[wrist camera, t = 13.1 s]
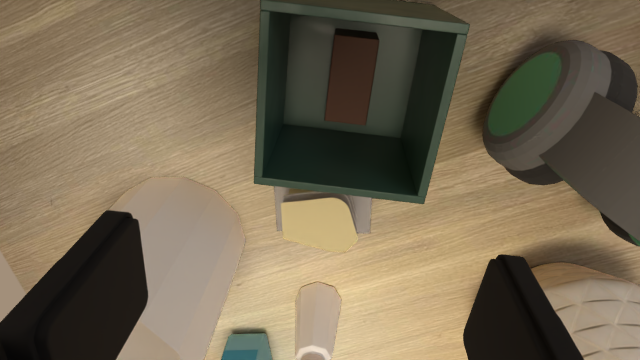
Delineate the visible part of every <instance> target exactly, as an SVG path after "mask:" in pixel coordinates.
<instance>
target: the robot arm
mask: <svg viewBox="0 0 640 360" xmlns="http://www.w3.org/2000/svg"><path fill="white" fill-rule="evenodd" d="M147 301H148V288H147V280H146V273H145V265H144V257H143V250H142V242H141V234H140V227H139V221H138V220H137V219H134V218H133V216H132V214H131V213H129V212H121V211H112V210H107V211H105V212H104V213H103V214H102V215H101V216H100V217H99V218H98V219H97V221H96V222H95V223H94V224H93V225H92V226H91V227H90V228H89V229H88V230H87V231H86V232H85V233H84V235H83V236H82V237H81V238H80V239H79V240H78V241H77V242H76V243H75V244H74V245H73V246H72V247H71V248H70V250H69V251H68V252H67V253H66V254H65V255H64V256H63V257H62V258H61V259H60V260H59V261H57V262H56V263H55V264H54V266H53V267H52V268H51V269H50V270H49V271H48V272H47V273H46V274H45V275H44V276H43V277H42V278H41V279H40V281H39V282H38V283H37V284H36V285H35V286H34V287H33V288H32V289H31V290H30V291H29V292H28V293H27V294H26V295H25V297H24V298H23V299H22V300H21V301H20V302H19V303H18V304H17V305H16V306H15V307H14V308H13V310H11V312H10V313H9V314H8V315H7V316H6V317H5V318H4V319H3V320H2V321H1V322H0V360H116V359H117V357H118V355H119V353H120V352H121V350H122V348H123V346H124V345H125V343H126V341H127V339H128V338H129V336H130V334H131V332H132V331H133V329H134V327H135V325H136V323H137V322H138V320H139V318H140V316H141V315H142V313H143V311H144V309H145V307H146V305H147ZM463 341H464V346H465V349H466V353H467V356H468V360H584V358H583V357H582V355H581V353H580V352H579V350H578V348H577V346H576V345H575V343H574V341H573V339H572V338H571V336H570V334H569V332H568V331H567V329H566V327H565V326H564V324H563V322H562V320H561V319H560V317H559V316H558V315H557V314H556V312H555V310H554V309H553V307H552V305H551V304H550V302H549V300H548V298H547V297H546V295H545V293H544V291H543V290H542V288H541V286H540V284H539V283H538V281H537V279H536V277H535V276H534V274H533V272H532V270H531V269H530V267H529V265H528V263H527V262H526V260H525V259H524V258H523V257H520V256H511V255H502V254H501V255H498V256H497V258H496V259H491V260H490V261H489V263H488V266H487V269H486V272H485V274H484V277H483V280H482V283H481V285H480V288H479V291H478V293H477V296H476V299H475V302H474V304H473V307H472V310H471V313H470V315H469V318H468V321H467V323H466V326H465V329H464V334H463Z"/></svg>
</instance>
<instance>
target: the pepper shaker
mask: <svg viewBox="0 0 640 360" xmlns="http://www.w3.org/2000/svg"><path fill="white" fill-rule="evenodd" d="M341 301H342V300H341V298H340V296H339V295H338V293H337V291H336V290H335V288H334V287H332V286H329V285H326V284H323V283H320V282H315V283H312V284H309V285H306V286H303V287H301V289H300V291H299V294H298V296H297V298H296V319H295V358H296V359H297V360H331V359H332V355H333V350H334V344H335V338H336V332H337V325H338V319H339V313H340V307H341Z"/></svg>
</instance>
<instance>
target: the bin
mask: <svg viewBox="0 0 640 360" xmlns="http://www.w3.org/2000/svg"><path fill="white" fill-rule="evenodd" d="M260 10H261V11H260V30H259V57H258V84H257V112H256V139H255V166H254V184H261V185H269V186H278V187H286V188H294V189H302V190H311V191H319V192H327V193H335V194H344V195H352V196H360V197H368V198H377V199H385V200H393V201H402V202H410V203H418V204H424V202H425V198H426V195H427V191H428V187H429V183H430V179H431V175H432V171H433V167H434V163H435V159H436V156H437V152H438V148H439V144H440V140H441V136H442V132H443V128H444V124H445V120H446V117H447V113H448V109H449V105H450V101H451V97H452V93H453V89H454V85H455V81H456V77H457V74H458V70H459V66H460V62H461V58H462V54H463V50H464V46H465V42H466V38H467V34H468V30H469V26H470V24H468V23H466V22H464V21H462V20H461V19H459V18H457V17H455V16H453V15H451V14H449V13H448V12H446V11H444V10H442V9H440V8H438V7H437V6H435V5H430V4H422V3H413V2H405V1H397V0H261V2H260ZM336 28H341V29H349V30H358V31H366V32H375V33H377V35H378V38H379V40H380V41H379V47H378V54H377V60H376V66H375V72H374V78H373V84H372V90H371V96H370V102H369V108H368V114H367V121H366V125H357V124H348V123H340V122H332V121H325V120H324V119H325V110H326V102H327V93H328V84H329V76H330V67H331V58H332V50H333V41H334V33H335V29H336Z"/></svg>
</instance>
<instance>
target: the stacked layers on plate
mask: <svg viewBox="0 0 640 360" xmlns="http://www.w3.org/2000/svg"><path fill="white" fill-rule="evenodd" d="M274 192H275V207H276V222H277V231H283V239H285V240H289V241H292V242H296V243H300V244H303V245H307V246H311V247H314V248H318V249H322V250H325V251H329V252H346V251H347V250H348V249H349V248H350V247H351V246H353V245H354V244H355V243H356V242H357V233H370V223H371V205H372V198H368V197H360V196H352V195H344V194H335V193H327V192H319V191H311V190H302V189H294V188H286V187H278V186H274Z"/></svg>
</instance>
